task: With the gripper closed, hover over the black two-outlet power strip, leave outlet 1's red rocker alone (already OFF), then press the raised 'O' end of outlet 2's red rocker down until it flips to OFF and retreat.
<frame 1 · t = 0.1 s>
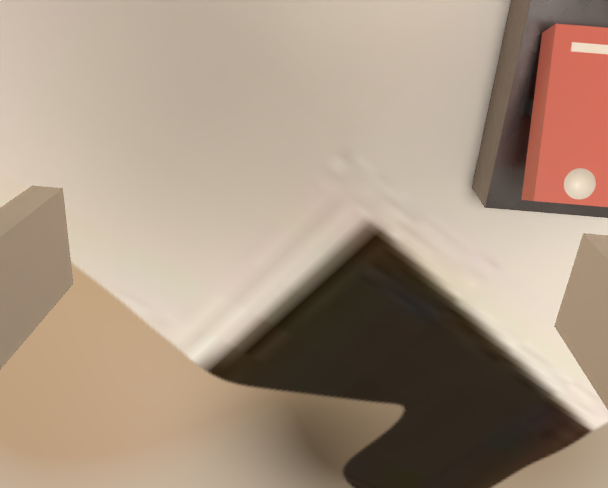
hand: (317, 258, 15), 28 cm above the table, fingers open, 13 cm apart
power strip: (603, 7, 37), on the table
rocker 2: (580, 119, 34), point 7 cm above the table, hinge at -19.0°
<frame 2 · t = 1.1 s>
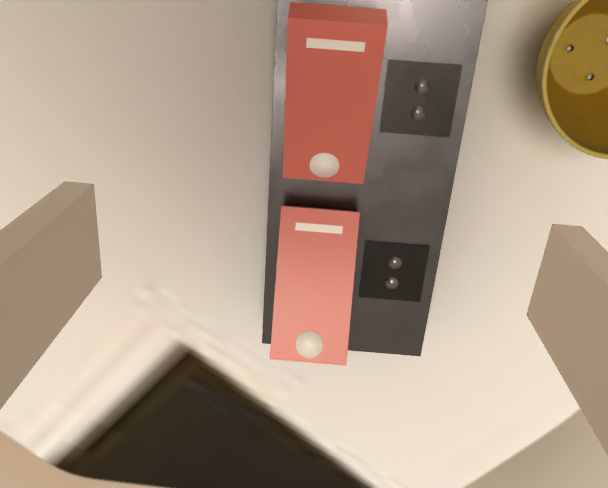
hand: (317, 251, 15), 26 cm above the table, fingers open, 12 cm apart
power strip: (357, 168, 41), on the table
rocker 2: (314, 284, 38), point 7 cm above the table, hinge at -19.0°
flower pot: (584, 53, 37), on the table
rocker 1: (330, 100, 33), point 7 cm above the table, hinge at 19.0°
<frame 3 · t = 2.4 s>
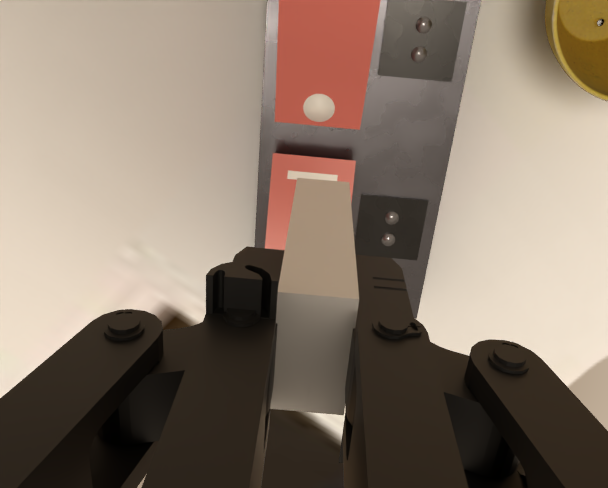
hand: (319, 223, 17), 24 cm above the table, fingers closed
power strip: (353, 120, 39), on the table
rocker 2: (306, 237, 36), point 7 cm above the table, hinge at -19.0°
rocker 1: (325, 36, 31), point 7 cm above the table, hinge at 19.0°
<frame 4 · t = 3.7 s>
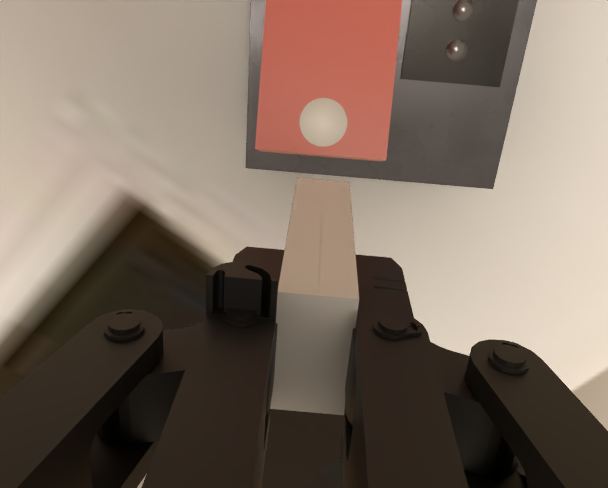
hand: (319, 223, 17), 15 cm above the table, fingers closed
rocker 2: (331, 24, 22), point 7 cm above the table, hinge at -19.0°
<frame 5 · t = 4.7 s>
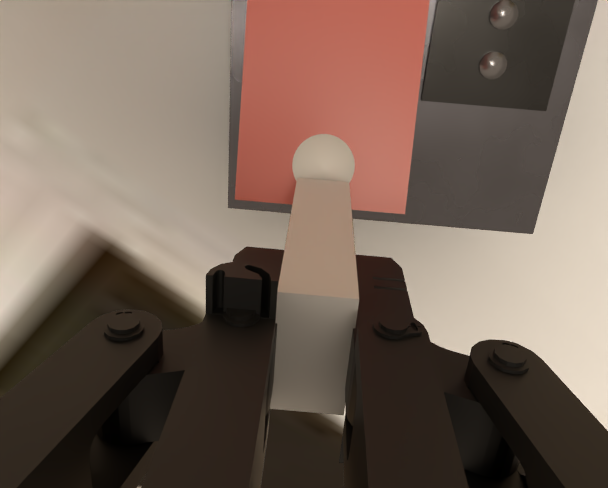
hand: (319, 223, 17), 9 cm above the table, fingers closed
rocker 2: (334, 34, 17), point 7 cm above the table, hinge at -16.2°, touching gripper
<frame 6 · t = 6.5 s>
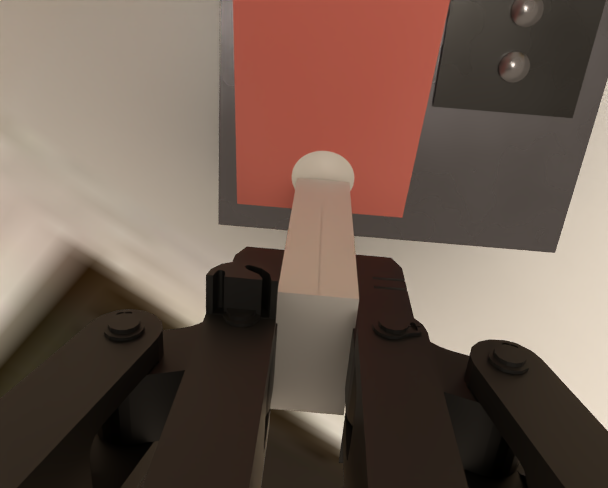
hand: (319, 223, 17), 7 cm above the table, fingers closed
rocker 2: (336, 33, 15), point 7 cm above the table, hinge at 14.5°, touching gripper
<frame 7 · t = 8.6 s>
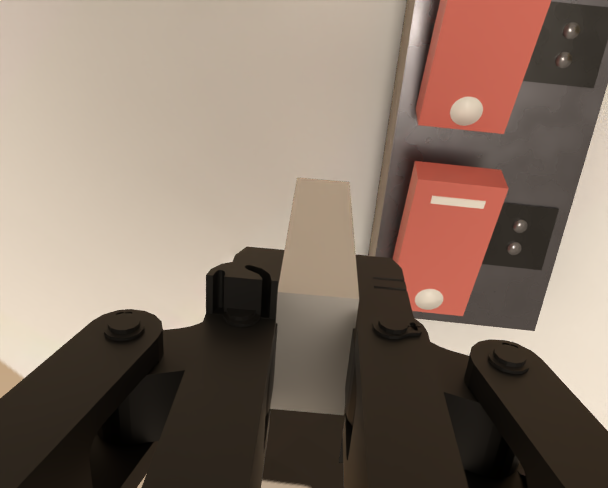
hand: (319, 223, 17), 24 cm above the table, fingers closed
power strip: (476, 128, 39), on the table
rocker 2: (440, 243, 35), point 7 cm above the table, hinge at 15.3°
rocker 1: (482, 38, 30), point 7 cm above the table, hinge at 19.0°
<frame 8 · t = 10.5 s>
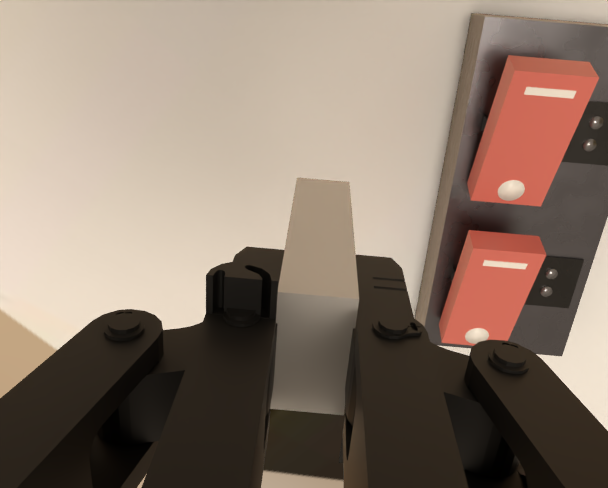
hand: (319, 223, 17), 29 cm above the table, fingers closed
power strip: (513, 190, 47), on the table
rocker 2: (487, 292, 43), point 7 cm above the table, hinge at 15.3°
rocker 1: (525, 136, 38), point 7 cm above the table, hinge at 19.0°
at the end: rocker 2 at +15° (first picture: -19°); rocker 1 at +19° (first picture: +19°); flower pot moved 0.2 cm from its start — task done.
